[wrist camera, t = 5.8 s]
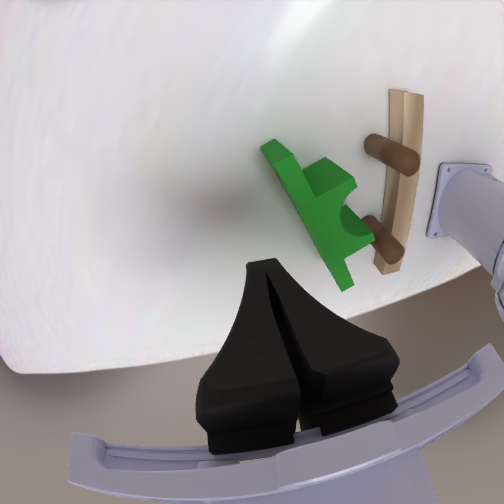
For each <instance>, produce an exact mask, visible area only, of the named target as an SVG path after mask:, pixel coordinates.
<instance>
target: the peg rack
mask: <svg viewBox="0 0 504 504" xmlns="http://www.w3.org/2000/svg"><path fill="white" fill-rule="evenodd" d="M389 100H390V119H389V139H387V138H385V137H383V136H380V135H378V134H371V135H369V136H368V137H367V138H366V140H365V144H364V148H365V151H366V153H367V154H368V155H370V156H372V157H374V158H375V159H377V160H379V161H381V162H383V163H384V164H386V165H387V176H386V187H385V196H384V204H383V212H382V219H381V223H380V222H379V221H378V220H377V219H376V218H375V217H373V216H366V217H365V218H363V219H362V220H361V221H362V222H363V223H364V224H365V225H366V226H367V227H368V228H369V229H370V230H371V231H372V232H373V235H374V238H375V241H373V242H371V243H370V244H371V245H372V246H373V247H374V248H375V249H376V255H375V261H374V264H375V266H376V267H377V268H378V270H379V271H380V272H381V274H382V275H385V274H389V273H393V272H397V271H399V270H400V267H401V263H402V259H403V255H404V252H405V247H406V243H407V238H408V234H409V229H410V224H411V219H412V214H413V209H414V203H415V197H416V190H417V183H418V176H419V168H420V159H421V148H422V134H423V110H424V95H421V94H416V93H410V92H404V91H397V90H389Z"/></svg>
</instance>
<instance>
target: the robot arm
mask: <svg viewBox="0 0 504 504" xmlns="http://www.w3.org/2000/svg"><path fill="white" fill-rule="evenodd" d="M447 168H448V169H447ZM491 172H492V167H491V166H490V165H481V164H456V163H443V164H442V165H441V166H440V170H439V177H438V184H437V189H436V195H435V200H434V205H433V210H432V215H431V220H430V224H429V228H428V232H427V237H428V238H429V239H432V238H437V237H441V236H446V235H451V236H452V237H453V238H454V239H455V240H456V241H457V242H458V243H459V244H460V245H462V246H463V247H464V248H465V249H466V250H467V251H468V252H469V253H470V254H471V255H472V256H473V257H474V258H475V259H476V260H477V261H478V262H479V263H480V264H481V265H482V266H483V267H484V268H485V269H486V270H487V271H488V272H489V273H490V274H491V275H492V276H493V280H492V282H491V285H492V286H493V288H494V289H495V290H496V294H495V303H496V307H497V309H498V312H499V315H500V317H501V319H502V320H503V322H504V183H503V182H501V181H500V180H498V179H497V178H495V177H493V176H492V175H491ZM246 269H247V273H246V282H245V287H244V292H243V297H242V300H241V304H240V307H239V310H238V313H237V316H236V319H235V321H234V324H233V326H232V328H231V331H230V333H229V335H228V337H227V339H226V341H225V343H224V345H223V346H222V348H221V350H220V352H219V353H218V355H217V357H216V358H215V360H214V361H213V363H212V364H211V366H210V367H209V368H208V370H207V371H206V372H205V374H204V375H203V377H202V378H201V379H200V383H199V387H198V391H197V396H196V420H197V422H198V423H199V424H200V425H201V426H202V428H203V429H204V430H205V431H206V432H207V435H208V445H202V446H141V445H140V446H139V445H127V444H116V443H108V442H105V441H104V440H102V439H101V438H99V437H96V436H93V435H88V434H82V433H76V432H72V433H71V439H70V446H69V456H68V465H67V482H69V483H72V484H74V485H78V486H81V487H84V488H87V489H90V490H93V491H97V492H101V493H105V494H109V495H114V496H119V497H125V498H131V499H137V500H144V501H152V502H163V503H176V504H440V503H439V500H438V497H437V494H436V491H435V488H434V485H433V482H432V479H431V476H430V473H429V471H428V468H427V465H426V462H425V460H424V457H423V455H422V452H421V448H423V447H425V446H427V445H429V444H430V443H432V442H434V441H435V440H437V439H439V438H440V437H442V436H444V435H445V434H447V433H448V432H450V431H451V430H453V429H454V428H456V427H457V426H459V425H460V424H462V423H463V422H465V421H466V420H467V419H468V418H470V417H471V416H473V415H474V414H475V413H477V412H478V411H479V410H481V409H482V408H483V407H485V406H486V405H487V404H488V403H489V402H491V401H492V400H493V399H494V398H495V397H496V396H497V395H498V394H499V393H501V392H502V391H503V390H504V364H503V362H502V360H501V359H500V357H499V356H498V354H497V352H496V351H495V349H494V348H493V346H492V345H491V344H488V345H486V346H485V347H483V348H482V349H480V350H479V351H477V352H476V353H475V354H474V355H473V356H472V357H471V358H470V360H469V361H468V363H467V364H465V365H464V366H462V367H460V368H459V369H457V370H456V371H454V372H452V373H450V374H448V375H447V376H445V377H443V378H441V379H440V380H437V381H436V382H434V383H432V384H430V385H428V386H426V387H424V388H422V389H420V390H418V391H416V392H414V393H411V394H410V395H407V396H405V397H403V398H400V399H398V400H395V398H394V395H393V393H392V390H393V385H392V383H391V381H390V380H391V378H392V377H393V375H394V373H395V372H396V370H397V368H398V365H399V363H400V361H399V358H398V356H397V354H396V352H395V350H394V349H393V347H392V346H391V345H390V343H389V342H388V340H387V339H386V338H383V337H380V336H378V335H375V334H373V333H370V332H368V331H366V330H363V329H361V328H359V327H357V326H355V325H353V324H351V323H350V322H348V321H346V320H345V319H343V318H341V317H339V316H338V315H336V314H335V313H333V312H332V311H330V310H329V309H327V308H326V307H325V306H323V305H322V304H321V303H319V302H318V301H317V300H316V299H315V298H313V297H312V296H311V295H310V294H309V293H308V292H307V291H305V290H304V289H303V288H302V287H301V286H300V285H299V284H298V283H297V282H296V281H295V280H294V279H293V278H292V277H291V275H290V274H289V273H288V272H287V271H286V270H285V269H284V267H283V266H282V265H281V264H280V262H279V261H278V260H277V259H276V258H272V259H266V260H260V261H254V262H248V263H247V264H246ZM298 418H299V423H300V428H301V432H296V433H295V430H296V422H297V420H298ZM272 456H274V457H272ZM266 457H270V458H266ZM259 458H265V459H261V460H256V461H251V462H246V463H240V462H238V461H245V460H253V459H259Z"/></svg>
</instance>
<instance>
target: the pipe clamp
mask: <svg viewBox="0 0 504 504" xmlns="http://www.w3.org/2000/svg"><path fill="white" fill-rule="evenodd" d="M260 148H261V149H262V151H263V153H264V154H265V156H266V158H267V159H268V161H269V163H270V164H271V166H272V168H273V170H274V171H275V173H276V175H277V176H278V178H279V180H280V182H281V183H282V185H283V187H284V188H285V190H286V192H287V194H288V195H289V197H290V199H291V201H292V203H293V204H294V206H295V208H296V210H297V212H298V213H299V215H300V217H301V219H302V221H303V223H304V224H305V226H306V228H307V230H308V232H309V234H310V236H311V238H312V239H313V241H314V243H315V245H316V247H317V249H318V251H319V253H320V255H321V257H322V259H323V260H324V262H325V264H326V266H327V267H328V269H329V271H330V272H331V274H332V276H333V278H334V279H335V281H336V283H337V285H338V286H339V288H340V290H341V292H343V291H345V290H346V289H348V288H350V287H352V286H353V285H354V283H353V280H352V278H351V275H350V273H349V270H348V268H347V266H346V263H345V261H344V258H346V257H348V256H350V255H351V254H353V253H355V252H356V251H358V250H360V249H361V248H363V247H365V246H366V245H368V244H370V243H371V242H373V241H375V238H374V235H373V232H372V231H371V230H370V229H369V228H368V227H367V226H366V225H365V224H364V223H363V222H362V221H361V219H360V218H359V217H358V216H357V215H356V214H355V213H354V212H353V211H352V210H351V209H350V208H349V207H348V206H347V205H345V206H343V207H341V206H342V204H343V202H344V200H345V198H346V197H347V196H348V194H349V193H350V192H351V191H353V190H354V189H355V188H357V185H356V182H355V180H354V177H353V176H352V175H350V174H349V173H348V172H346V171H345V170H343V169H342V168H340V167H339V166H338V165H336V164H335V163H333V162H332V161H330V160H329V159H327V158H326V157H325V158H323V159H321V160H319V161H317V162H316V163H314V164H312V165H310V166H308V167H307V168H305V169H303V170H301V168H300V166H299V164H298V163H297V161H296V159H295V157H294V155H293V154H292V153H291V152H290V151H289V150H288V149H286V148H285V147H284V146H283V145H281V144H280V143H279V142H278V141H277V140H275V139H273V140H272V141H270V142H268V143H266V144H265V145H263V146H261V147H260Z"/></svg>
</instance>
